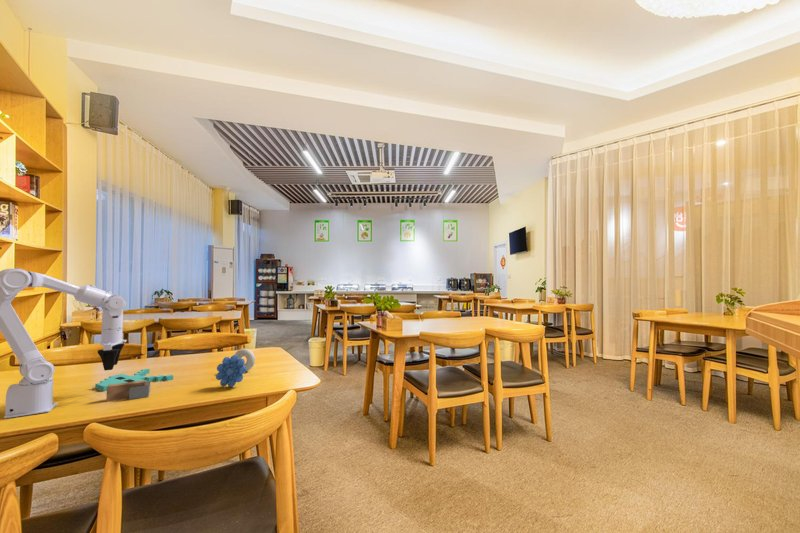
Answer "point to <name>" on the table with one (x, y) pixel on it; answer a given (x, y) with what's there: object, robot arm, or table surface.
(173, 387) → the table surface
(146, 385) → the end cap
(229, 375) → the blue bumpy cluster
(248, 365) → the donut
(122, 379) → the alien figure
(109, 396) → the slat
